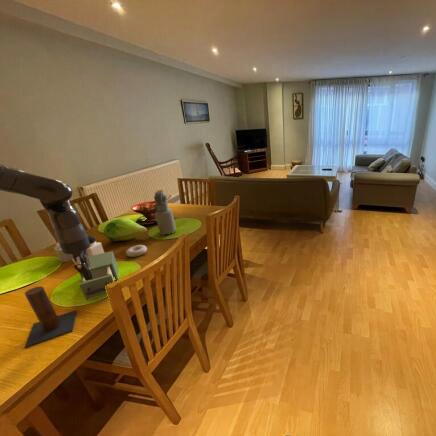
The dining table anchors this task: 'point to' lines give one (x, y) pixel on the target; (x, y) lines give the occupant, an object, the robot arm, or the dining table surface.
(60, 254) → the lumpy-topped squat cylinder
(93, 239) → the medicine bottle
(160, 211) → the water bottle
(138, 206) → the red decorative bowl
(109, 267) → the drawer
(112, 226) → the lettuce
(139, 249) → the donut
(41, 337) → the mat
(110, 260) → the cabinet
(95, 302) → the dining table surface
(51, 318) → the pepper mill
